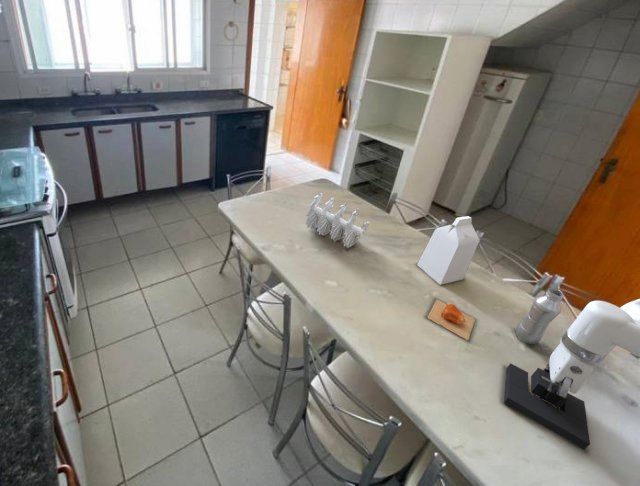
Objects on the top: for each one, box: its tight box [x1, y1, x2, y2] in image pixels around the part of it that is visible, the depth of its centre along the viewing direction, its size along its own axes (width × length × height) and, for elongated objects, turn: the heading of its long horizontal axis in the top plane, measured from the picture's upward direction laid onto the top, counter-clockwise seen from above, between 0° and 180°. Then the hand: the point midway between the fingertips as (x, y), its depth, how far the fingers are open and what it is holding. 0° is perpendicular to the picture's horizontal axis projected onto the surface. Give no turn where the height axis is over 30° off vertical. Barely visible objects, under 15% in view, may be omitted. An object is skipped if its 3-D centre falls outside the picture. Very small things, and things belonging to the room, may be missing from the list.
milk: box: [417, 215, 480, 286], centre depth 126 cm, size 12×12×26 cm
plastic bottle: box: [514, 287, 565, 345], centre depth 101 cm, size 6×7×20 cm
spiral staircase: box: [305, 192, 370, 249], centre depth 145 cm, size 18×18×25 cm
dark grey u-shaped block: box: [503, 362, 591, 450], centre depth 86 cm, size 16×13×2 cm
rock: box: [427, 299, 476, 341], centre depth 110 cm, size 12×12×4 cm
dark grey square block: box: [530, 367, 568, 409], centre depth 87 cm, size 6×6×4 cm
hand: (546, 390), depth 87 cm, fingers closed on dark grey square block, 6 cm apart
